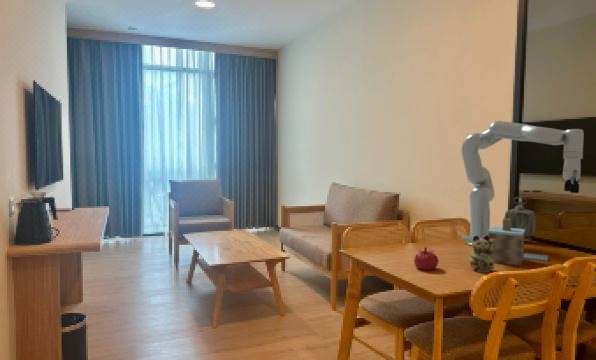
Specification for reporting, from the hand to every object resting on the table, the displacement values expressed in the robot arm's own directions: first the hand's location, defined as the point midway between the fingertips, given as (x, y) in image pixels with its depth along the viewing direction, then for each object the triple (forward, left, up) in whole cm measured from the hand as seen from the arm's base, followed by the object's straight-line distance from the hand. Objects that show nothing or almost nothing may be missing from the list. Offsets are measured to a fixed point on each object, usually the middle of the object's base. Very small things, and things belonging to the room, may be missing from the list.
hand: (571, 191), depth 194 cm
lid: (-24, -25, -18) cm, 39 cm away
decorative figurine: (-31, -48, -31) cm, 65 cm away
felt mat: (-13, -12, -31) cm, 35 cm away
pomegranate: (-51, -58, -31) cm, 84 cm away
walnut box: (-24, -25, -31) cm, 47 cm away
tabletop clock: (-23, +27, -31) cm, 47 cm away
